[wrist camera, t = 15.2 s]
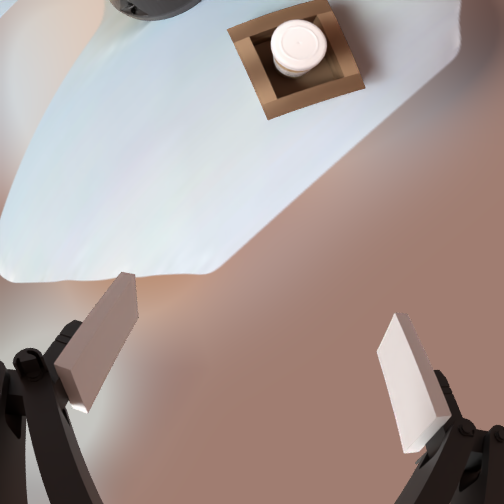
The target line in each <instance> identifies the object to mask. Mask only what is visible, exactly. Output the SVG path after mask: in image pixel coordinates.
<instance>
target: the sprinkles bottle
mask: <svg viewBox="0 0 504 504" xmlns="http://www.w3.org/2000/svg"><path fill="white" fill-rule="evenodd" d="M271 50H272V53H273V65H274V68H275V70H276V71H277V72H278V73H279V74H280V75H281V76H283V77H285V78H289V79H298V78H301V77H303V76H304V75H305V74H307V72H308V71H310V70H311V69H312V68H313V67H315V66H316V65H318V64H319V63H320V62H321V60H322V59H323V57H324V56H325V53H326V50H327V42H326V38H325V36H324V34H323V32H322V31H321V30H320V29H319V28H318V27H317V26H316V25H314V24H313V23H311V22H308V21H305V20H299V19H297V20H289V21H286V22H284V23H283V24H281V25H280V26H278V27H277V28H276V30H275V31H274V33H273V35H272V38H271Z"/></svg>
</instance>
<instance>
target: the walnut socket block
mask: <svg viewBox="0 0 504 504" xmlns="http://www.w3.org/2000/svg"><path fill="white" fill-rule="evenodd" d="M297 19H299V20H305V21H308V22H311V23H313V24H314V25H316V26H317V27H318V28H319V29H320V30H321V31H322V32H323V34H324V36H325V38H326V42H327V50H326V53H325V56H324V57H323V59H322V60H321V62H320V63H319V64H318V65H316V66H315V67H313V68H312V69H311V70H310V71H308V72H307V74H305V75H304V76H303V77H301V78H298V79H289V78H285V77H283V76H281V75H280V74H279V73H278V72H277V71H276V70H275V68H274V65H273V53H272V50H271V38H272V35H273V33H274V31H275V30H276V28H277V27H278V26H280V25H281V24H283V23H284V22H286V21H289V20H297ZM227 31H228V33H229V35H230V37H231V39H232V41H233V43H234V45H235V48H236V50H237V52H238V54H239V56H240V58H241V60H242V63H243V65H244V67H245V69H246V71H247V74H248V76H249V78H250V80H251V82H252V85H253V87H254V89H255V92H256V94H257V96H258V98H259V101H260V103H261V105H262V108H263V110H264V112H265V115H266V117H267V119H268V120H270V119H273V118H275V117H278V116H281V115H284V114H286V113H289V112H292V111H295V110H298V109H301V108H304V107H306V106H309V105H312V104H315V103H318V102H322V101H325V100H328V99H331V98H334V97H337V96H341V95H344V94H347V93H351V92H354V91H358V90H361V89H365V85H364V82H363V80H362V77H361V75H360V72H359V70H358V67H357V65H356V62H355V60H354V57H353V55H352V53H351V50H350V48H349V46H348V43H347V41H346V39H345V37H344V34H343V32H342V30H341V28H340V26H339V24H338V21H337V19H336V17H335V15H334V13H333V11H332V9H331V7H330V5H329V3H328V1H327V0H313V1H309V2H306V3H302V4H299V5H295V6H292V7H288V8H285V9H282V10H279V11H276V12H273V13H270V14H267V15H264V16H261V17H258V18H255V19H253V20H250V21H247V22H245V23H242V24H239V25H237V26H234V27H232V28H229V29H227Z"/></svg>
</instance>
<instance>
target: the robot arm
mask: <svg viewBox="0 0 504 504" xmlns="http://www.w3.org/2000/svg"><path fill="white" fill-rule="evenodd" d="M199 1H201V0H110V2H111V3H112V5H113V6H114V7H115V8H116V9H118V10H119V11H120V12H122V13H124V14H126V15H128V16H130V17H132V18H135V19H139V20H145V21H156V20H163V19H167V18H171V17H174V16H176V15H179V14H181V13H183V12H185V11H187V10H188V9H190V8H192V7H193V6H194V5H196V4H197V3H198V2H199ZM138 318H139V317H138V306H137V295H136V281H135V274H130V273H125V272H121V273H120V274H119V276H118V277H117V278H116V280H115V281H114V282H113V283H112V285H111V286H110V287H109V288H108V290H107V291H106V292H105V294H104V295H103V296H102V298H101V299H100V300H99V302H98V303H97V304H96V305H95V307H94V308H93V309H92V311H91V312H90V313H89V315H88V316H87V317H86V319H85V320H84V321H83V322H80V321H77V320H73V321H72V322H70V323H69V324H67V325H66V326H65V327H64V328H63V330H62V331H61V332H60V335H58V336H57V338H56V339H55V341H54V342H53V343H52V344H51V346H50V347H49V348H48V350H47V351H46V353H45V354H44V355H43V356H42V354H41V352H40V351H39V350H37V349H34V348H26V349H24V350H21V351H20V352H18V353H17V354H16V355H15V357H14V359H13V365H14V367H15V369H16V370H10V369H6V367H5V365H4V363H3V362H1V361H0V504H28V503H27V490H26V472H25V471H26V469H25V439H26V418H27V423H28V427H29V432H30V436H31V440H32V445H33V448H34V452H35V456H36V460H37V463H38V466H39V470H40V473H41V477H42V480H43V483H44V486H45V489H46V492H47V495H48V498H49V501H50V503H51V504H103V502H102V500H101V498H100V496H99V494H98V492H97V489H96V487H95V485H94V483H93V480H92V478H91V476H90V473H89V471H88V469H87V466H86V464H85V461H84V459H83V456H82V454H81V451H80V448H79V446H78V443H77V440H76V437H75V434H74V431H73V428H72V425H71V422H70V419H69V416H68V413H67V410H66V408H65V406H66V404H67V402H68V401H70V403H71V406H72V408H74V409H77V410H80V411H82V412H85V413H88V412H89V410H90V408H91V406H92V404H93V402H94V400H95V398H96V396H97V395H98V393H99V391H100V389H101V386H102V385H103V383H104V381H105V379H106V377H107V375H108V373H109V371H110V369H111V367H112V366H113V364H114V362H115V360H116V358H117V356H118V354H119V352H120V351H121V348H122V347H123V345H124V343H125V341H126V339H127V338H128V336H129V334H130V332H131V330H132V329H133V327H134V325H135V323H136V322H137V319H138ZM377 354H378V358H379V361H380V364H381V367H382V371H383V374H384V378H385V381H386V385H387V388H388V392H389V396H390V399H391V403H392V407H393V410H394V414H395V418H396V422H397V426H398V430H399V434H400V438H401V443H402V447H403V451H404V453H412V452H419V451H420V450H421V449H422V448H423V446H425V445H426V449H427V452H426V453H425V454H424V455H423V456H422V457H421V458H419V459H418V460H417V462H416V464H417V463H419V464H418V466H417V468H416V469H415V471H414V473H413V475H412V476H411V478H410V480H409V481H408V483H407V485H406V486H405V488H404V489H403V491H402V493H401V494H400V496H399V497H398V499H397V500H396V502H395V504H504V427H503V426H501V425H495V426H493V427H492V428H491V429H490V430H489V431H483V430H478V429H476V427H475V426H474V424H473V423H472V422H471V421H470V420H468V419H465V418H463V417H462V415H461V412H460V410H459V407H458V405H457V403H456V400H455V399H454V395H453V394H452V391H451V389H450V388H449V384H448V381H447V379H446V377H445V376H444V375H443V374H442V373H441V371H440V370H433V368H432V366H431V364H430V361H429V359H428V357H427V354H426V352H425V350H424V348H423V346H422V343H421V341H420V339H419V337H418V335H417V333H416V331H415V329H414V327H413V324H412V322H411V320H410V318H409V316H408V314H404V313H395V314H394V316H393V318H392V320H391V323H390V325H389V327H388V329H387V331H386V333H385V335H384V338H383V340H382V342H381V344H380V346H379V348H378V350H377Z"/></svg>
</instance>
